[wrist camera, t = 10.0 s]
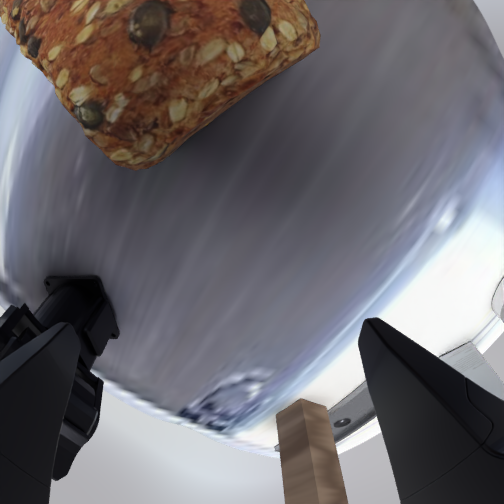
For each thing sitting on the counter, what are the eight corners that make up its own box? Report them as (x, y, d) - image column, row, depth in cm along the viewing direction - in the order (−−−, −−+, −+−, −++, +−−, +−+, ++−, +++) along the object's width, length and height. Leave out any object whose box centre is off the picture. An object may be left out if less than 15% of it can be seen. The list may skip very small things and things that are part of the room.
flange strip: (309, 450, 36) (310, 457, 35) (274, 446, 34) (275, 454, 33) (415, 373, 28) (419, 381, 27) (384, 363, 26) (388, 372, 25)
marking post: (275, 415, 29) (288, 533, 15) (300, 398, 28) (322, 526, 14) (301, 422, 31) (318, 530, 16) (326, 406, 29) (351, 521, 15)
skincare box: (431, 375, 29) (466, 442, 18) (439, 354, 27) (481, 426, 16) (464, 359, 28) (501, 419, 17) (472, 337, 26) (516, 400, 15)
